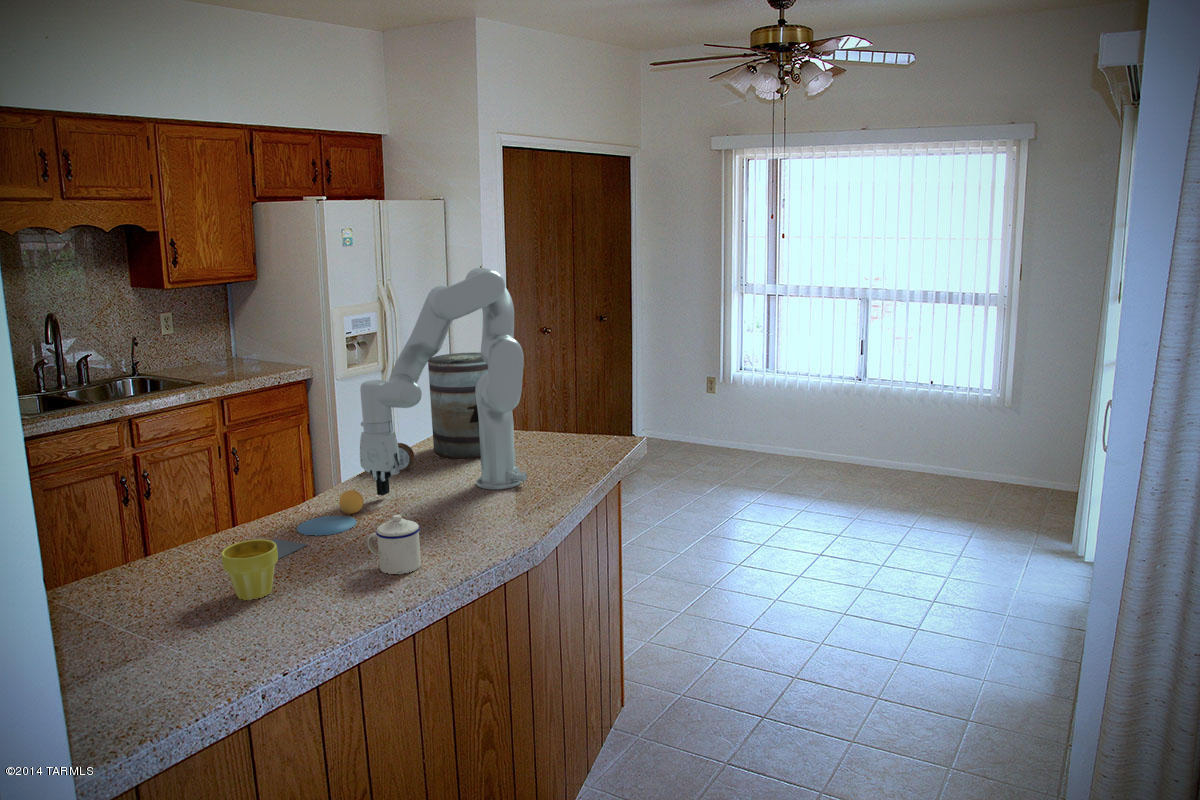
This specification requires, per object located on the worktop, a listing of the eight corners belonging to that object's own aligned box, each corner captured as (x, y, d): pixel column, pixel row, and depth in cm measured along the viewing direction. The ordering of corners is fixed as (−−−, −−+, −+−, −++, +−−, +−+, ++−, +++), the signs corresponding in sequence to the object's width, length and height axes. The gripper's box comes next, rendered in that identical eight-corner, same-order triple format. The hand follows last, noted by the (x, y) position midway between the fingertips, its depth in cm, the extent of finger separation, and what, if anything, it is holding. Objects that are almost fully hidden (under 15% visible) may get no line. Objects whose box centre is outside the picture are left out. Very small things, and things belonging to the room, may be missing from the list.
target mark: (368, 520, 220) (368, 519, 220) (329, 539, 208) (329, 538, 208) (324, 513, 226) (324, 512, 226) (284, 531, 213) (284, 530, 213)
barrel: (508, 455, 276) (504, 361, 270) (436, 462, 271) (429, 366, 264) (499, 438, 297) (495, 350, 291) (432, 444, 292) (426, 355, 286)
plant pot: (248, 609, 171) (243, 561, 169) (215, 598, 177) (209, 552, 174) (292, 589, 180) (287, 544, 178) (259, 579, 185) (254, 535, 183)
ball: (353, 518, 222) (369, 510, 227) (351, 496, 220) (367, 488, 226) (335, 515, 225) (351, 506, 230) (332, 493, 223) (349, 485, 228)
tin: (415, 469, 264) (413, 442, 262) (412, 472, 261) (410, 444, 259) (367, 469, 266) (364, 442, 264) (363, 472, 262) (361, 444, 261)
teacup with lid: (429, 561, 193) (426, 510, 190) (409, 577, 184) (405, 524, 182) (380, 556, 196) (376, 506, 194) (358, 572, 188) (354, 520, 185)
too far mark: (308, 545, 204) (307, 544, 204) (275, 560, 195) (275, 560, 195) (275, 539, 208) (275, 538, 208) (242, 554, 199) (242, 553, 199)
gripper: (346, 428, 232) (352, 495, 236) (392, 432, 226) (397, 501, 229) (364, 422, 239) (370, 487, 242) (410, 426, 232) (414, 492, 236)
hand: (383, 493), depth 236 cm, fingers closed
